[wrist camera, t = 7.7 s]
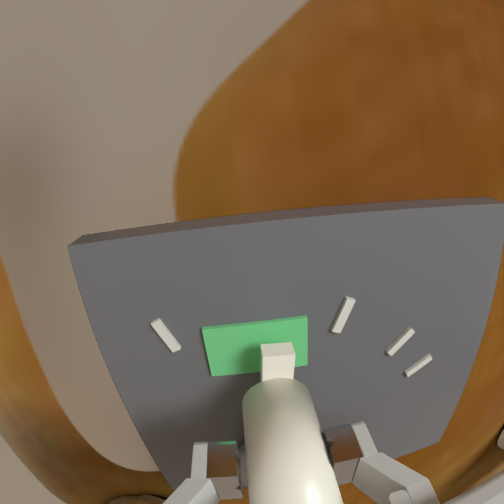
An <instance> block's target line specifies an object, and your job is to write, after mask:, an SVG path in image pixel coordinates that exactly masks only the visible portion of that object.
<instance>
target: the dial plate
mask: <svg viewBox="0 0 504 504" xmlns="http://www.w3.org/2000/svg"><path fill="white" fill-rule="evenodd" d="M503 242H504V202H502V201H499V200H496V199H493V198H490V197H480V198H453V199H431V200H412V201H395V202H379V203H365V204H351V205H338V206H326V207H314V208H303V209H292V210H281V211H271V212H261V213H251V214H242V215H232V216H223V217H215V218H206V219H198V220H189V221H181V222H173V223H166V224H158V225H151V226H143V227H136V228H129V229H122V230H115V231H108V232H101V233H95V234H88V235H82V236H81V237H79V238H78V239H77V240H75V241H74V242H72V243H71V244H70V245H68V246H67V247H68V250H69V255H70V259H71V262H72V266H73V269H74V273H75V277H76V280H77V284H78V287H79V290H80V294H81V297H82V300H83V303H84V306H85V309H86V312H87V315H88V318H89V321H90V324H91V326H92V329H93V332H94V335H95V337H96V340H97V343H98V345H99V348H100V350H101V353H102V355H103V358H104V360H105V363H106V365H107V368H108V370H109V372H110V375H111V377H112V379H113V381H114V384H115V386H116V388H117V390H118V393H119V395H120V397H121V399H122V401H123V403H124V405H125V407H126V409H127V411H128V413H129V415H130V417H131V419H132V421H133V423H134V425H135V427H136V429H137V431H138V432H139V435H140V436H141V438H142V440H143V441H144V443H145V445H146V447H147V449H148V451H149V452H150V454H151V456H152V458H153V459H154V461H155V463H156V464H157V466H158V468H159V469H160V471H161V473H162V474H163V476H164V477H165V479H166V481H167V482H168V484H169V485H170V487H171V488H172V490H176V489H177V488H178V487H179V486H180V485H181V484H182V482H183V481H184V480H185V479H186V478H190V476H191V464H192V452H193V445H194V442H219V441H237V444H238V449H239V448H240V447H241V446H242V445H243V444H244V443H245V439H244V425H243V410H242V401H243V397H244V395H245V394H246V392H247V391H248V390H249V389H250V388H251V387H253V386H254V385H256V384H258V383H260V361H261V344H271V343H287V342H292V345H293V348H294V351H295V354H296V355H295V366H294V377H293V379H295V380H297V381H300V382H301V383H303V384H304V385H305V386H306V387H307V388H308V390H309V392H310V395H311V398H312V402H313V405H314V408H315V411H316V415H317V418H318V421H319V424H320V428H321V431H323V429H327V428H332V427H337V426H341V425H346V424H352V423H356V422H360V421H363V422H365V424H366V426H367V429H368V431H369V433H370V435H371V438H372V440H373V442H374V445H375V447H376V449H377V451H378V453H380V452H382V453H384V454H386V455H387V456H389V457H391V458H392V459H394V458H397V457H400V456H403V455H406V454H409V453H411V452H414V451H417V450H419V449H422V448H425V447H427V446H430V445H432V444H434V443H437V442H439V441H440V439H441V437H442V435H443V433H444V431H445V429H446V427H447V425H448V423H449V421H450V419H451V417H452V415H453V412H454V410H455V408H456V406H457V403H458V401H459V399H460V397H461V394H462V392H463V389H464V387H465V385H466V382H467V379H468V377H469V374H470V372H471V369H472V366H473V363H474V361H475V358H476V355H477V352H478V349H479V346H480V343H481V340H482V336H483V333H484V330H485V326H486V323H487V319H488V316H489V312H490V308H491V304H492V300H493V296H494V291H495V287H496V282H497V277H498V272H499V267H500V261H501V256H502V249H503ZM242 486H243V488H248V486H245V485H243V484H242Z"/></svg>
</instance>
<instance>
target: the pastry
mask: <svg viewBox="0 0 504 504" xmlns="http://www.w3.org/2000/svg"><path fill="white" fill-rule="evenodd" d="M165 501H166V500H164V499H161V498H158V497H155V496H152V495H147V494H144V495H141V496H121V497H120V498H118V499H116V500H112V501H110V502H108V504H163V503H164V502H165Z"/></svg>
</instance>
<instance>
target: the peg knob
mask: <svg viewBox="0 0 504 504" xmlns="http://www.w3.org/2000/svg"><path fill="white" fill-rule="evenodd" d="M295 355H296V354H295V351H294V348H293V345H292V342H287V343H271V344H261V361H260V383H258V384H256V385H254V386H253V387H251V388H250V389H249V390H248V391H247V392H246V394H245V395H244V397H243V401H242V410H243V425H244V439H245V443H244V444H243V445H242V446H241V447H240V448H239V449H238V452H239V453H240V459H241V468H242V475H241V480H242V484H243V485H245V486H248V492H249V504H343V501H342V497H341V494H340V491H339V487H338V484H337V481H336V477H335V474H334V471H333V468H332V464H331V461H330V458H329V454H328V451H327V447H326V444H325V441H324V438H323V434H322V431H321V428H320V424H319V421H318V418H317V415H316V411H315V408H314V405H313V402H312V398H311V395H310V392H309V390H308V388H307V387H306V386H305V385H304V384H303V383H301V382H300V381H297V380H295V379H293V377H294V366H295Z"/></svg>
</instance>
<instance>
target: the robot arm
mask: <svg viewBox="0 0 504 504" xmlns="http://www.w3.org/2000/svg"><path fill="white" fill-rule="evenodd" d="M322 434H323V438H324V441H325V444H326V447H327V451H328V454H329V458H330V461H331V464H332V468H333V471H334V474H335V477H336V481H337V484H338V485H340V484H345V483H350V482H352V484H354V485H355V486H356V487H357V488H359V489H360V490H361V491H362V492H363V493H365V494H366V495H367V496H368V497H370V498H371V499H372V500H374V501H375V502H376V503H377V504H440V502H439V500H438V498H437V496H436V494H435V492H434V490H433V487H432V485H431V483H430V481H429V479H428V478H426V477H424V476H422V475H420V474H419V473H417V472H415V471H413V470H411V469H410V468H408V467H406V466H404V465H403V464H401V463H399V462H398V461H396V460H394V459H392V458H391V457H389V456H387V455H386V454H384V453H382V452H380V453H378V451H377V449H376V447H375V445H374V442H373V440H372V438H371V435H370V433H369V431H368V429H367V426H366V424H365V422H363V421H360V422H356V423H352V424H346V425H341V426H337V427H332V428H327V429H323V431H322ZM497 445H498V447H500V448H501V449H503V450H504V429H503V431H502V433H501V434H500V436H499V439H498V442H497ZM241 475H242V468H241V459H240V453H239V452H238V444H237V441H219V442H194V445H193V452H192V464H191V476H190V478H186V479H185V480H184V481H183V482H182V484H181V485H180V486H179V487H178V488H177V489H176V490H175V491H174V492H173V493H172V494H171V495H170V496H169V497H168V498H167V500H166V501H165V502H164V503H163V504H218V503H219V502H220V500H224V499H239V498H243V486H242V480H241ZM442 504H504V470H502V471H501V472H499V473H497V474H496V475H494V476H493V477H491V478H489V479H488V480H486V481H484V482H482V483H481V484H479V485H477V486H475V487H474V488H472V489H470V490H468V491H466V492H464V493H463V494H461V495H459V496H457V497H455V498H453V499H451V500H449V501H447V502H444V503H442Z"/></svg>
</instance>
